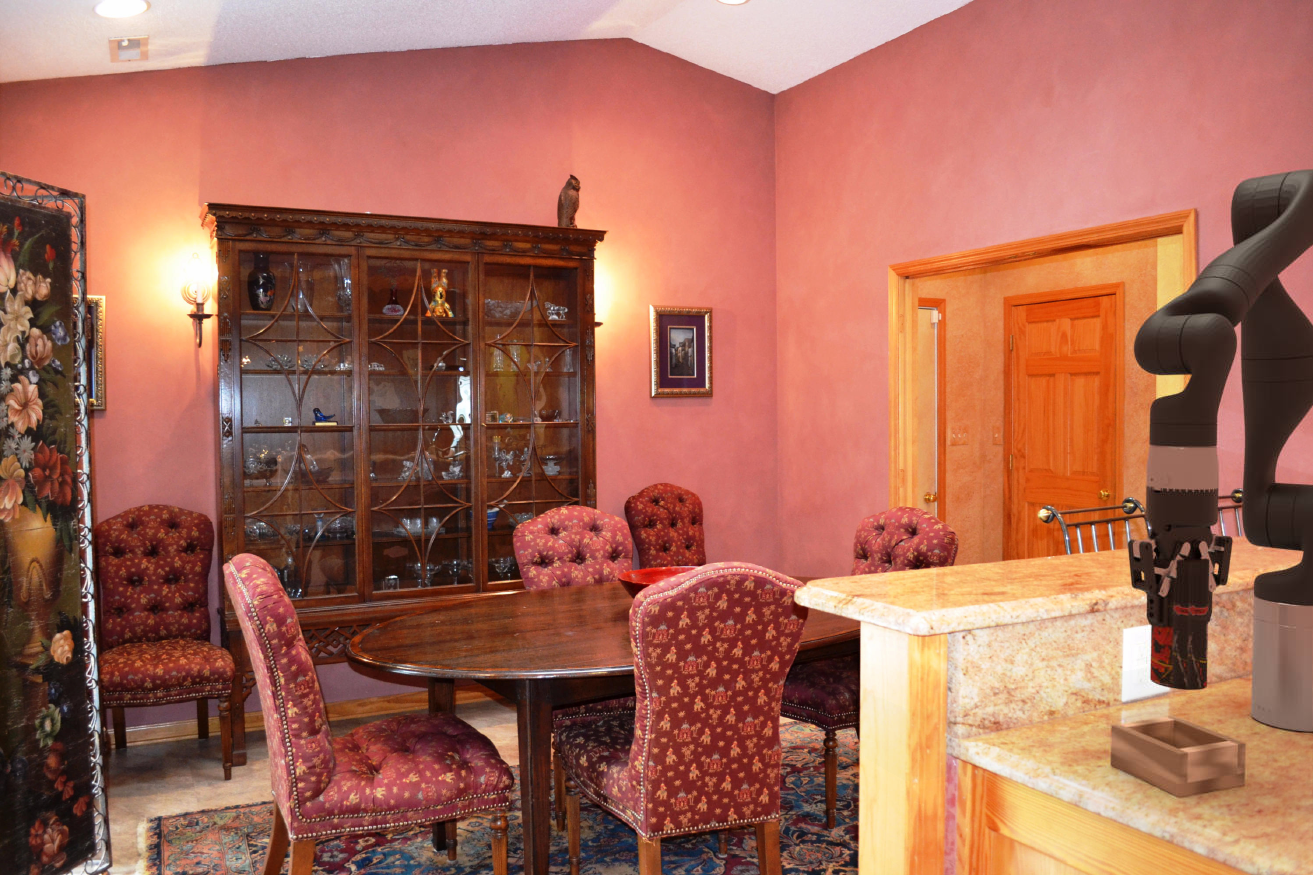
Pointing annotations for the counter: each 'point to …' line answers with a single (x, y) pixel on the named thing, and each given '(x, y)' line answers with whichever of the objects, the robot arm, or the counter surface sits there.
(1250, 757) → the counter surface
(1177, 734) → the wooden box
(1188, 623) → the deodorant
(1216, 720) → the counter surface
